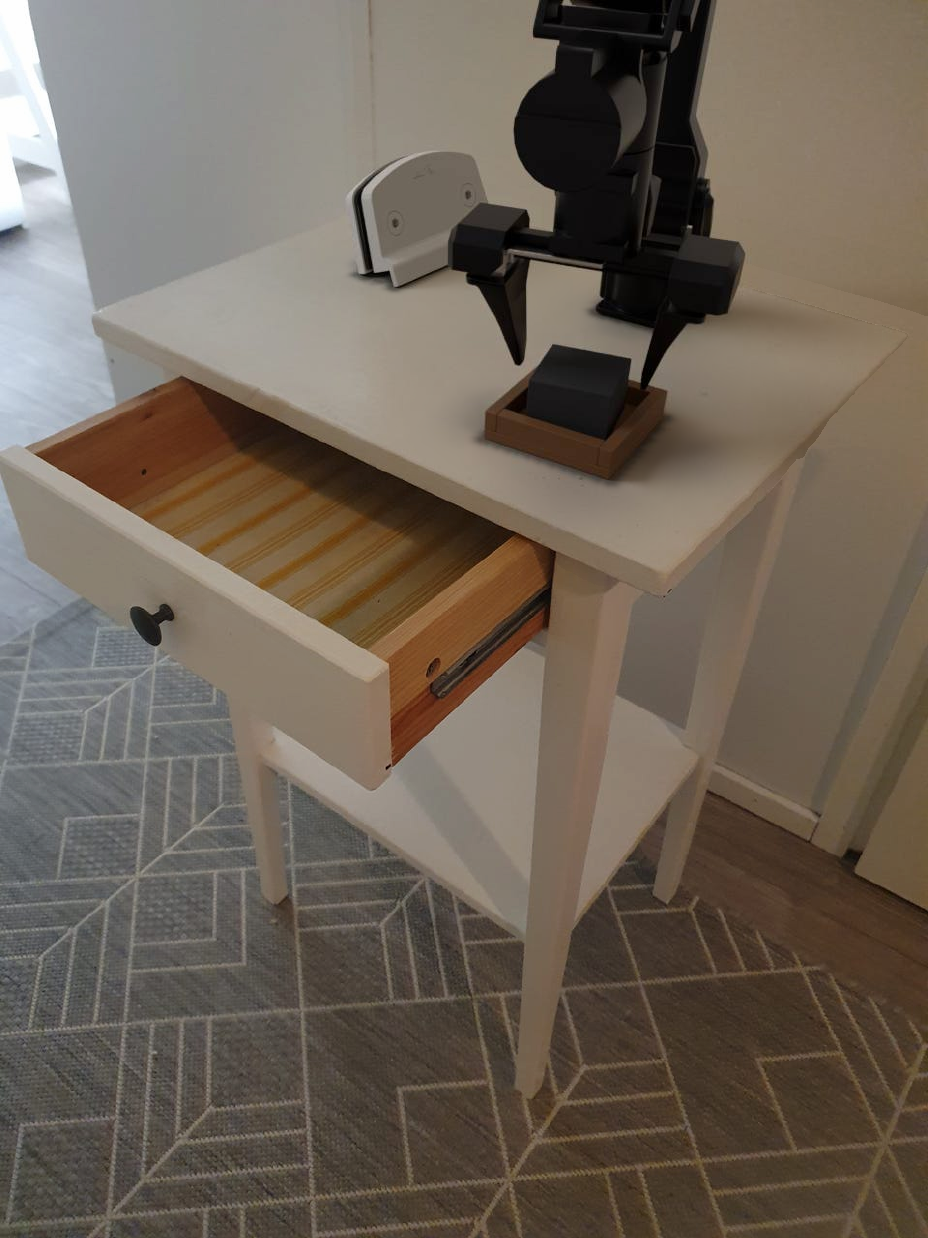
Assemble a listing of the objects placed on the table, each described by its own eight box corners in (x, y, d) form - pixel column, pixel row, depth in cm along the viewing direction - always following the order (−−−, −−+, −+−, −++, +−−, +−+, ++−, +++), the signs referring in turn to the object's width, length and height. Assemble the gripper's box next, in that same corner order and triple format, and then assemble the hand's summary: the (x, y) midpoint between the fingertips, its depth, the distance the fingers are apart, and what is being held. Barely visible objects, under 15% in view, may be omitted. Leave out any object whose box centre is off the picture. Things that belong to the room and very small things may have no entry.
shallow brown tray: (663, 417, 74) (668, 390, 72) (608, 479, 67) (612, 451, 66) (545, 382, 77) (548, 355, 76) (483, 438, 71) (484, 410, 69)
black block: (624, 407, 73) (632, 358, 70) (605, 446, 69) (612, 396, 66) (548, 391, 74) (552, 343, 72) (524, 429, 70) (528, 379, 68)
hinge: (395, 287, 90) (364, 172, 85) (361, 290, 93) (330, 179, 88) (507, 238, 99) (485, 131, 95) (473, 242, 102) (450, 139, 98)
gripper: (779, 124, 62) (729, 350, 73) (504, 90, 67) (494, 308, 77) (756, 177, 54) (703, 421, 65) (445, 134, 59) (443, 369, 69)
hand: (580, 374), depth 69 cm, fingers open, 9 cm apart
